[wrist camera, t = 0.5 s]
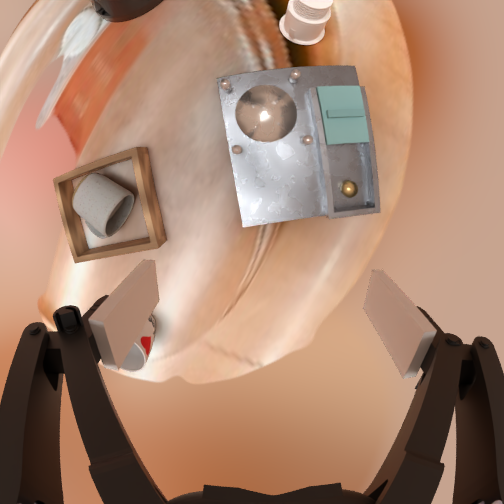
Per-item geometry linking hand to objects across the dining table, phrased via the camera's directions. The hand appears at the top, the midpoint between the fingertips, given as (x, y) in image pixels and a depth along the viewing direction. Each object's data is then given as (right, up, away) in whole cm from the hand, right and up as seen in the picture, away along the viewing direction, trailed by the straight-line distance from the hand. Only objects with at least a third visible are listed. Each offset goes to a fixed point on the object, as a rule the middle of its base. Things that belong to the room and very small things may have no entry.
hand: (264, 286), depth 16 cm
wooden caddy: (-24, +10, +25) cm, 36 cm away
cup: (-21, -11, +32) cm, 40 cm away
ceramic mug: (-24, +10, +25) cm, 36 cm away
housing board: (+6, +18, +21) cm, 28 cm away
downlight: (+7, +36, +15) cm, 40 cm away
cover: (+11, +20, +16) cm, 28 cm away
